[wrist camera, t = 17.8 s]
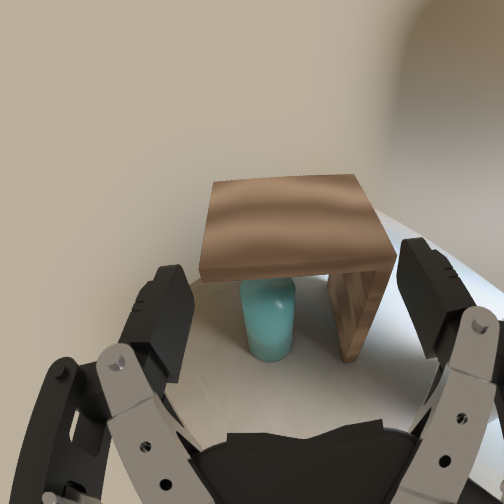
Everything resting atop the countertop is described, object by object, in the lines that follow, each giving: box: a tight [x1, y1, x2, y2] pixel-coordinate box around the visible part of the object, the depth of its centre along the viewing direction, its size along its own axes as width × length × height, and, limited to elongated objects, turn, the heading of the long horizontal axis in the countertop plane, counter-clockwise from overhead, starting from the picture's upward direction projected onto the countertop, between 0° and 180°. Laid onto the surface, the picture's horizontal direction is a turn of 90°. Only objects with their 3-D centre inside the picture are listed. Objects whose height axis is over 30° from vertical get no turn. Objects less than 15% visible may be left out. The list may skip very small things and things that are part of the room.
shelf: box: [199, 174, 397, 363], centre depth 33 cm, size 13×16×18 cm
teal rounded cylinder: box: [240, 277, 295, 362], centre depth 34 cm, size 6×6×11 cm
